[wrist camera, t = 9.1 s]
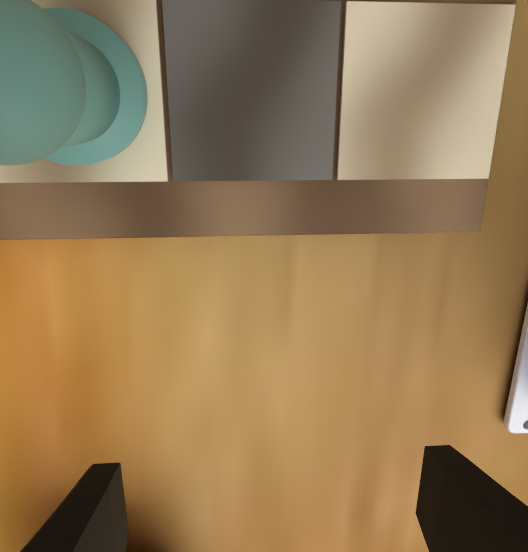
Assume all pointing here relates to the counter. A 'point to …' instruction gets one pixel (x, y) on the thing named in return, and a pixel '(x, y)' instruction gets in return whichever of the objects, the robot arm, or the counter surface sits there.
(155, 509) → the counter surface
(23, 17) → the pawn
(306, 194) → the board
